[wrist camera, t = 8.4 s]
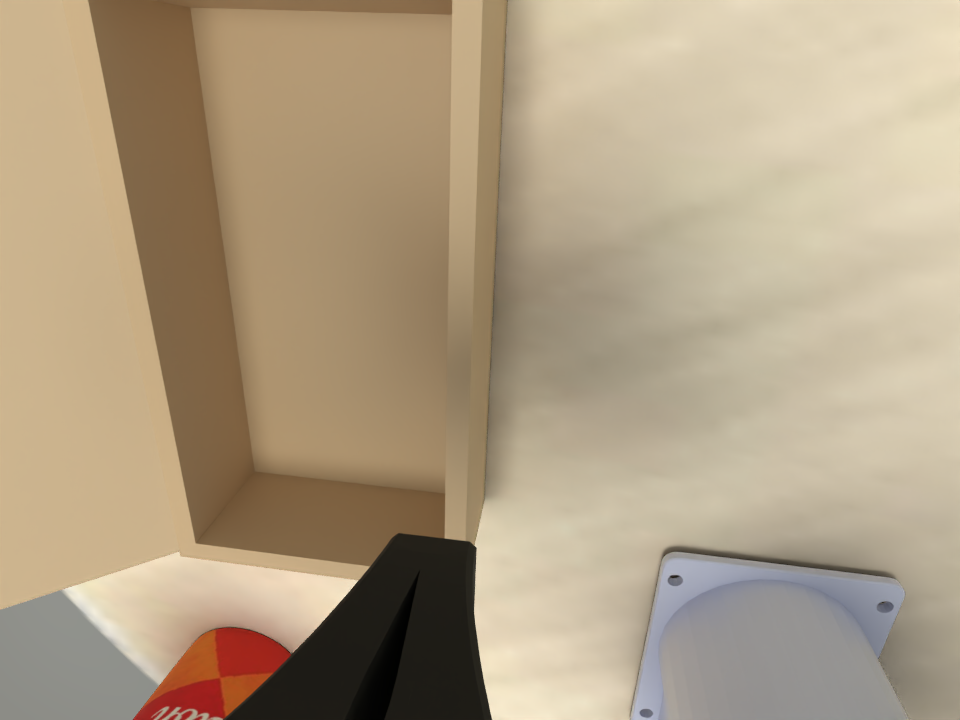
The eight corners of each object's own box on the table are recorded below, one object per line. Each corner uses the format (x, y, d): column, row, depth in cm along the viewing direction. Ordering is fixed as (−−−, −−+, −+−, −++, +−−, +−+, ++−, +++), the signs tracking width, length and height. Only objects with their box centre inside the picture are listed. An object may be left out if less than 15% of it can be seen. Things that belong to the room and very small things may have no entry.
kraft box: (484, 501, 23) (463, 594, 18) (248, 473, 24) (180, 556, 19) (507, -8, 16) (484, -39, 12) (178, -16, 17) (51, -47, 13)
